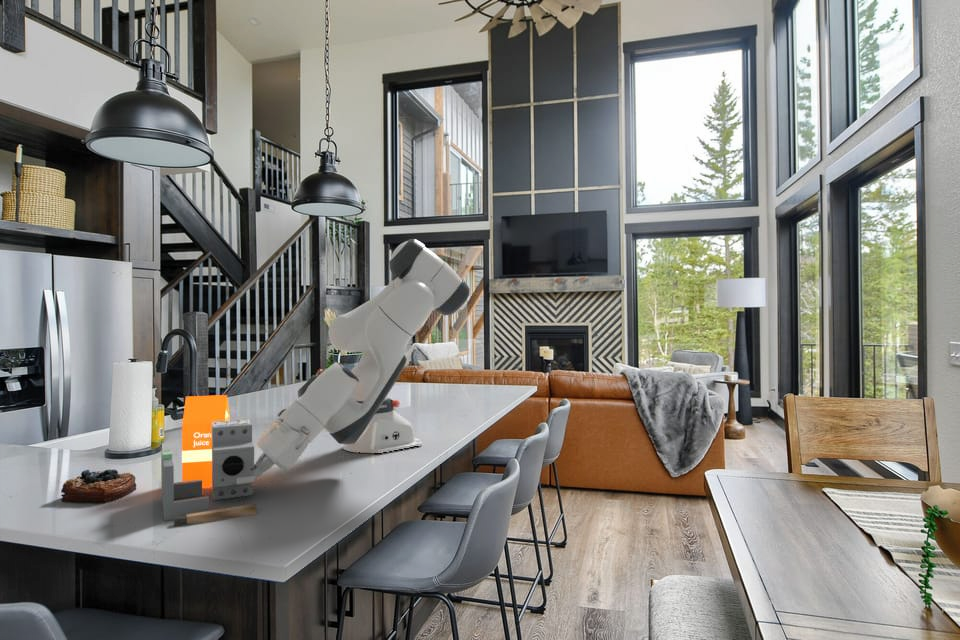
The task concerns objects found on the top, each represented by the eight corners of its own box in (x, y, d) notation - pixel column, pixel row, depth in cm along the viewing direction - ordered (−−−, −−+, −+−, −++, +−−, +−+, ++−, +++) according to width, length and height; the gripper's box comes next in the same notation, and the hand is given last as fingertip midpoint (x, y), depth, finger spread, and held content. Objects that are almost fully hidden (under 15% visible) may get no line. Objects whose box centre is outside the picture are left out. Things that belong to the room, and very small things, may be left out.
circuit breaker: (214, 509, 112) (214, 432, 112) (211, 489, 125) (211, 421, 125) (255, 503, 115) (254, 429, 115) (248, 485, 128) (248, 418, 128)
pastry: (94, 488, 127) (94, 462, 127) (145, 489, 126) (144, 463, 126) (52, 504, 116) (52, 475, 116) (107, 506, 115) (107, 476, 115)
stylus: (255, 511, 111) (255, 503, 111) (256, 514, 109) (256, 506, 109) (174, 524, 104) (174, 516, 104) (174, 527, 102) (174, 518, 102)
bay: (201, 493, 122) (201, 442, 122) (209, 513, 109) (208, 456, 109) (161, 499, 118) (161, 446, 118) (164, 520, 105) (164, 461, 105)
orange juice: (225, 486, 127) (225, 397, 127) (181, 490, 124) (181, 398, 124) (230, 477, 134) (229, 392, 134) (188, 480, 132) (188, 394, 132)
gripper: (323, 441, 118) (274, 496, 113) (299, 426, 135) (255, 473, 130) (301, 422, 115) (250, 477, 110) (279, 409, 133) (234, 456, 128)
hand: (253, 475), depth 120 cm, fingers closed
